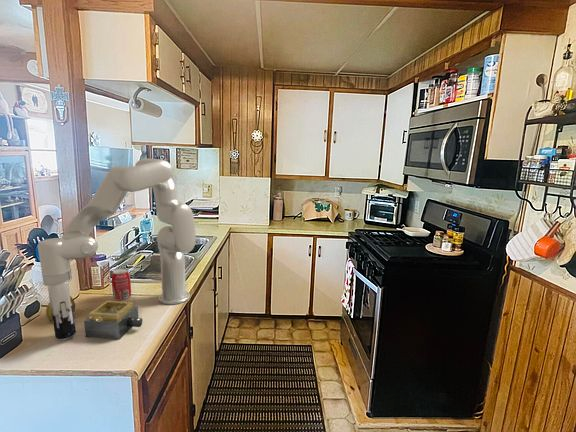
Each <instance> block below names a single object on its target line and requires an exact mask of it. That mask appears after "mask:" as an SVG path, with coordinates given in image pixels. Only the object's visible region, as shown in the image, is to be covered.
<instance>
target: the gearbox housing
mask: <svg viewBox="0 0 576 432" xmlns="http://www.w3.org/2000/svg"><path fill="white" fill-rule="evenodd" d="M142 325H143V318H142V317H139V307H138V305H133V302H132V301H131V302H130V301H119V300H116V301H113V300H106V301H105V302H103V303H102V304H101V305H99V306H98V307H96V308H95V309H94V310H92V311H91V312H89V313H88V317H87V318H86V319H84V320H83V326H84V337H85V338H93V339H94V338H95V339H108V340H110V339H111V340H121V339H122V338H124V336H125V335H126V334H127V333H128V332H129V331H130V330H132V328H140V327H142Z"/></svg>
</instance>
